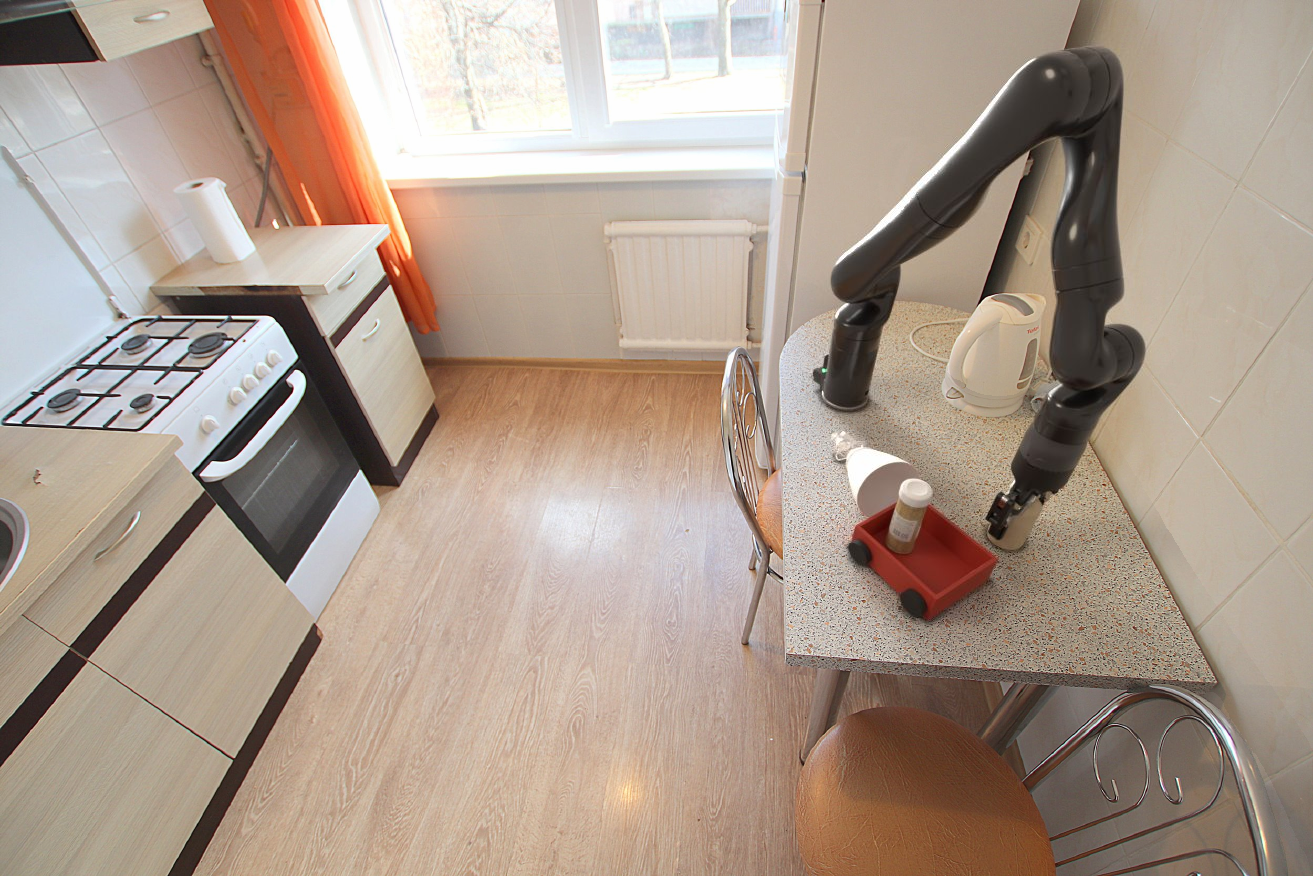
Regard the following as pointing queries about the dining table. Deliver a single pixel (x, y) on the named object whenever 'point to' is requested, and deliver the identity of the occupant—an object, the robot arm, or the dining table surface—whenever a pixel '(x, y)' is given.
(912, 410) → the dining table surface
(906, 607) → the cart wheels
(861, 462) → the rocket engine
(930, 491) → the sprinkles bottle
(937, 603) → the cart
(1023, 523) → the candle
